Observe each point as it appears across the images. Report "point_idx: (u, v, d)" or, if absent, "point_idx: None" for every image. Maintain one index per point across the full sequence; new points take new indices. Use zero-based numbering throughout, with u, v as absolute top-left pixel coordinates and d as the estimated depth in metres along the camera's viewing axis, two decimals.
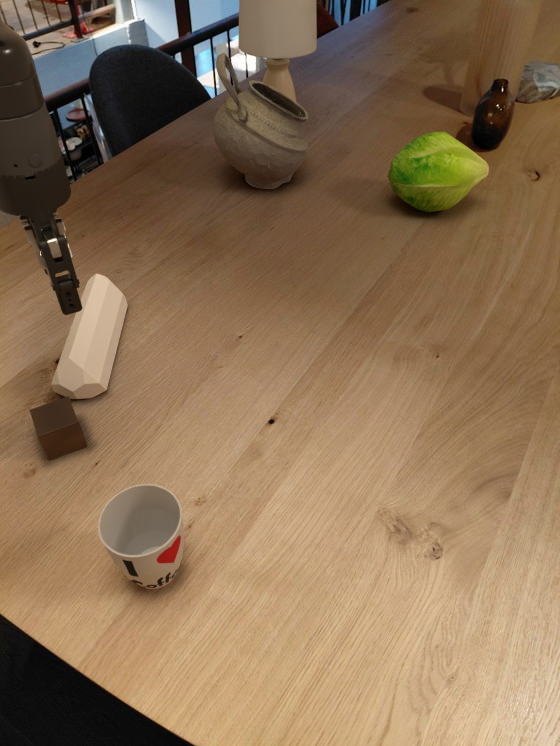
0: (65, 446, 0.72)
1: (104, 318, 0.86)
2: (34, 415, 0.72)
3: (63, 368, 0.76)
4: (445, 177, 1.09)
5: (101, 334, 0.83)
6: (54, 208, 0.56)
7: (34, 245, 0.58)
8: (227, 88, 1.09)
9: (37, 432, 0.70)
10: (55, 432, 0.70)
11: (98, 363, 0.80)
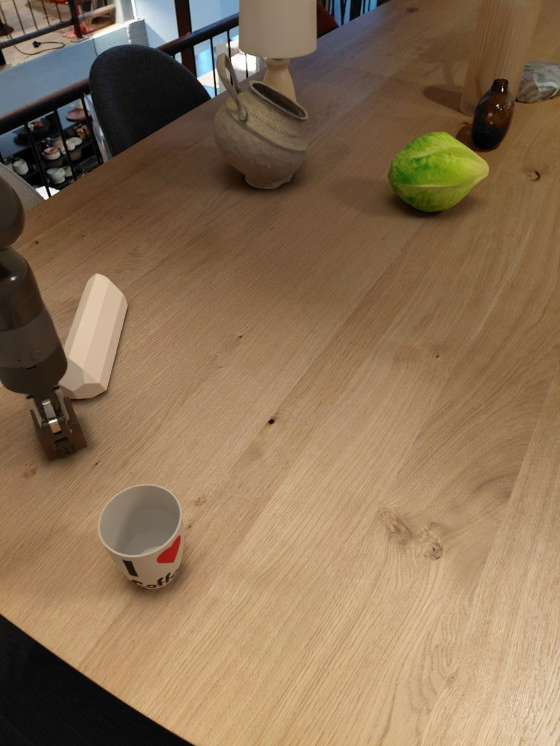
0: None
1: (104, 318, 0.86)
2: (34, 415, 0.72)
3: None
4: (445, 177, 1.09)
5: (101, 334, 0.83)
6: (53, 385, 0.64)
7: (36, 412, 0.67)
8: (227, 88, 1.09)
9: (37, 432, 0.70)
10: None
11: (97, 363, 0.80)
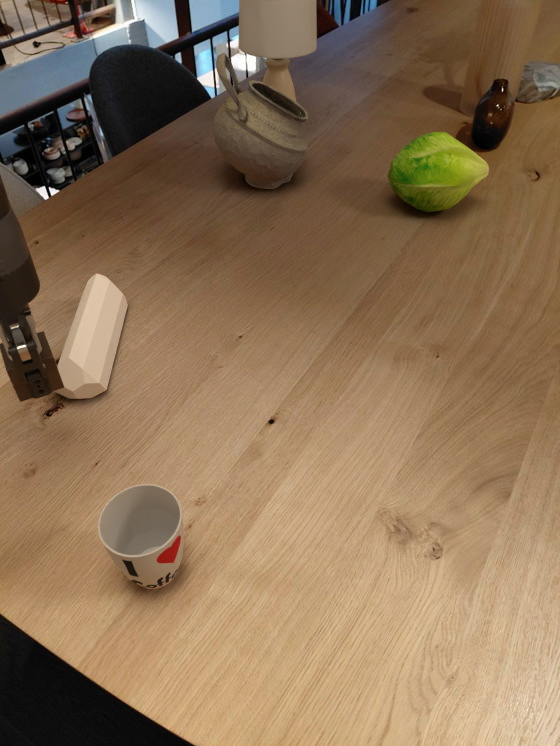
0: None
1: (104, 318, 0.86)
2: (4, 349, 0.64)
3: (63, 368, 0.76)
4: (445, 177, 1.09)
5: (101, 334, 0.83)
6: (22, 306, 0.56)
7: (3, 340, 0.59)
8: (227, 88, 1.09)
9: (6, 366, 0.62)
10: None
11: (97, 363, 0.80)
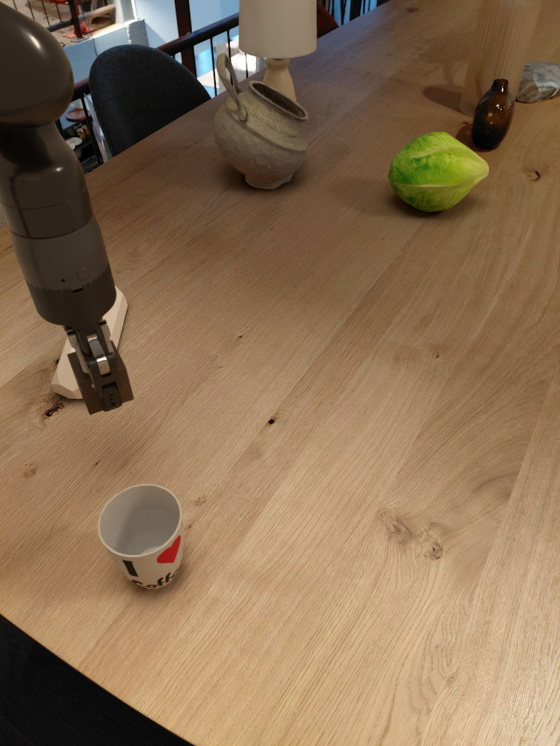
0: None
1: (104, 318, 0.86)
2: (73, 360, 0.60)
3: (63, 368, 0.76)
4: (445, 177, 1.09)
5: None
6: (100, 316, 0.53)
7: (78, 352, 0.56)
8: (227, 88, 1.09)
9: (78, 378, 0.58)
10: None
11: None
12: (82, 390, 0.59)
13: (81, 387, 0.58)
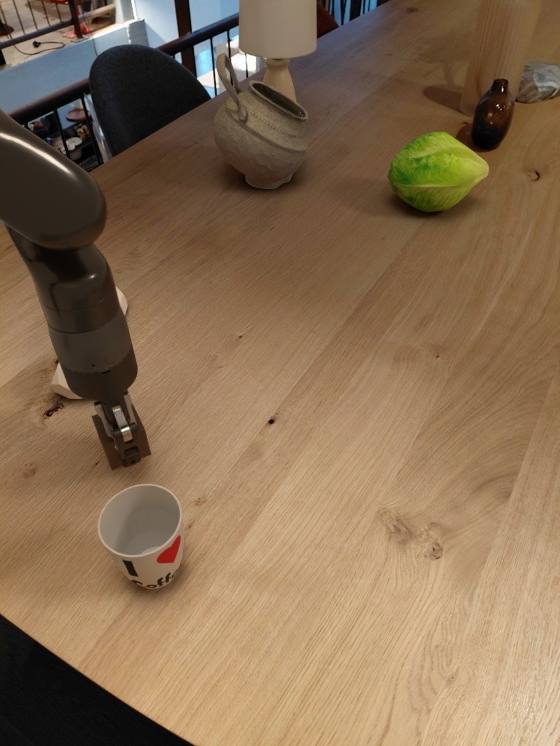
0: None
1: None
2: (97, 422, 0.67)
3: None
4: (445, 177, 1.09)
5: None
6: (124, 391, 0.60)
7: (103, 419, 0.62)
8: (227, 88, 1.09)
9: (102, 440, 0.65)
10: None
11: None
12: (106, 450, 0.66)
13: (105, 448, 0.65)
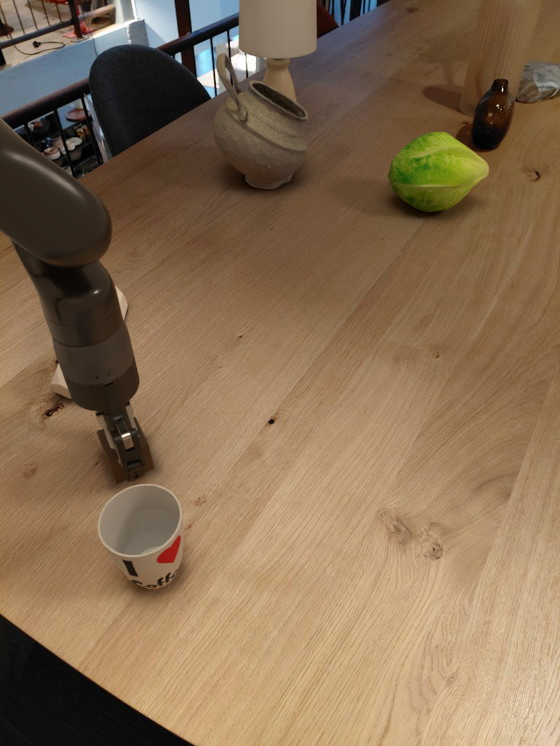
0: None
1: None
2: (102, 437, 0.69)
3: None
4: (445, 177, 1.09)
5: None
6: (126, 402, 0.61)
7: (105, 429, 0.63)
8: (227, 88, 1.09)
9: (107, 455, 0.67)
10: None
11: None
12: (110, 465, 0.68)
13: (110, 462, 0.67)
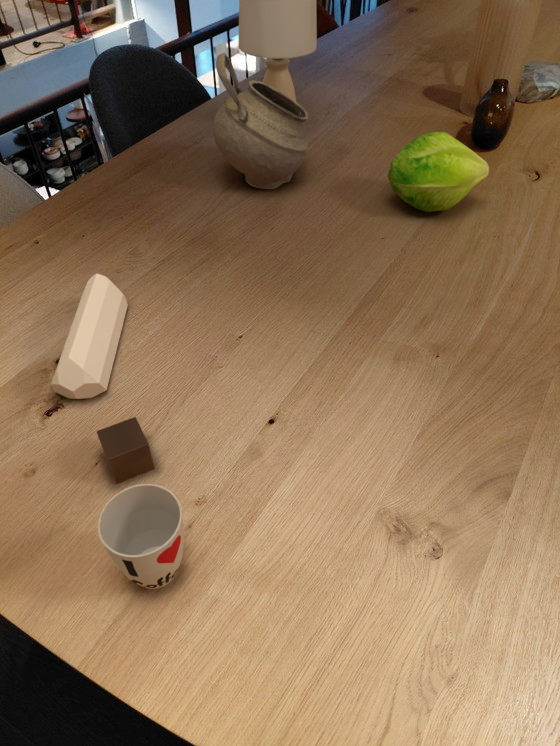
0: (133, 469, 0.70)
1: (104, 318, 0.86)
2: (102, 437, 0.69)
3: (63, 368, 0.76)
4: (445, 177, 1.09)
5: (101, 334, 0.83)
6: None
7: None
8: (227, 88, 1.09)
9: (107, 455, 0.67)
10: (125, 454, 0.68)
11: (97, 363, 0.80)
12: (110, 465, 0.68)
13: (110, 462, 0.67)
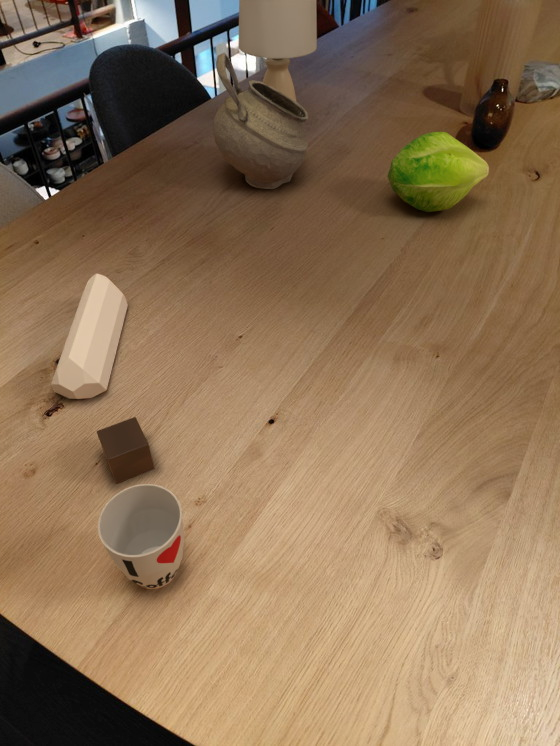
0: (133, 469, 0.70)
1: (104, 318, 0.86)
2: (102, 437, 0.69)
3: (63, 368, 0.76)
4: (445, 177, 1.09)
5: (101, 334, 0.83)
6: None
7: None
8: (227, 88, 1.09)
9: (107, 455, 0.67)
10: (125, 454, 0.68)
11: (97, 363, 0.80)
12: (110, 465, 0.68)
13: (110, 462, 0.67)
